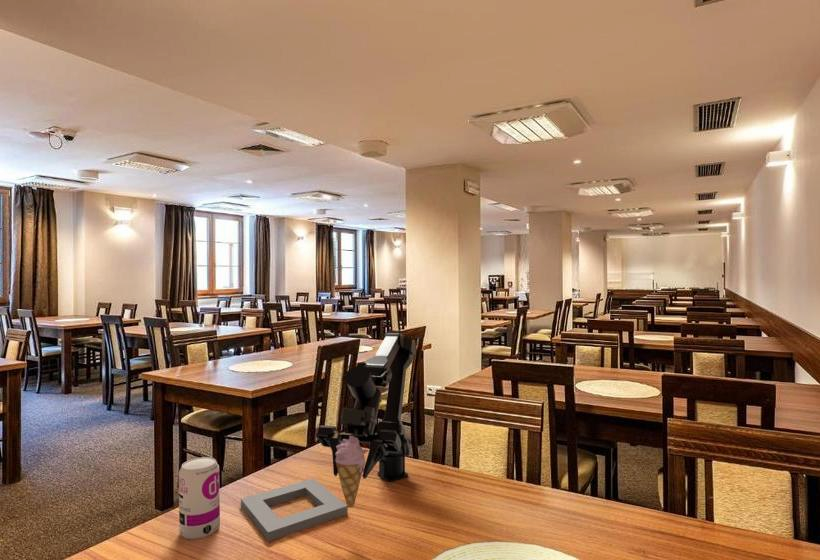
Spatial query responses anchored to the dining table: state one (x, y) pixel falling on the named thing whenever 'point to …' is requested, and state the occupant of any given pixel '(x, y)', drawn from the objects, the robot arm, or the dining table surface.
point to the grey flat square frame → (277, 528)
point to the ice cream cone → (350, 467)
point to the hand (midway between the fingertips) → (349, 476)
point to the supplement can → (199, 498)
